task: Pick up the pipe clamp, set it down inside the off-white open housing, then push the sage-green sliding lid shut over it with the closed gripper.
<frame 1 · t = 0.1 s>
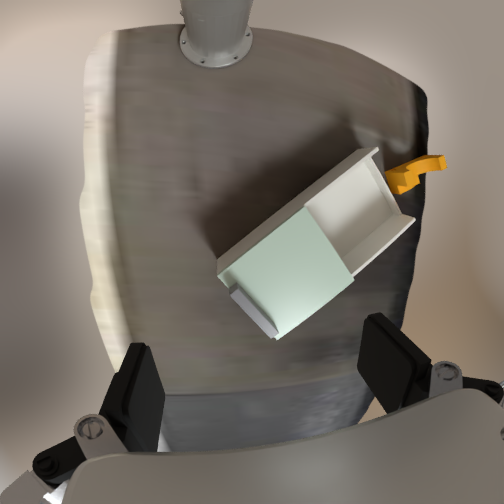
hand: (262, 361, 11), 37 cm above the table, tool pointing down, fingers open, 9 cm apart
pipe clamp: (407, 172, 48), on the table
housing: (348, 207, 49), on the table
lid: (292, 280, 41), point 9 cm above the table, slide at 16.2 cm
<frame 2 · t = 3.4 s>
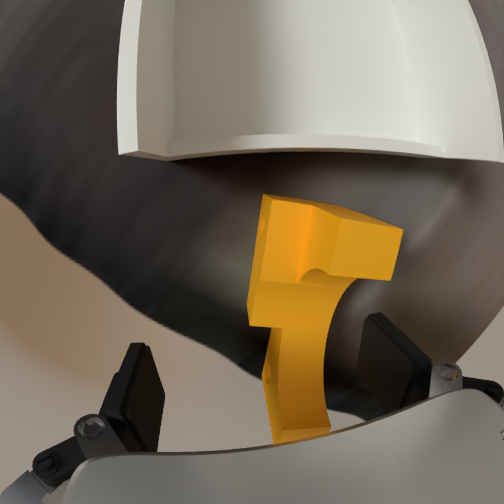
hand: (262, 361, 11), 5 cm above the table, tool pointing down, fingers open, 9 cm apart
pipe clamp: (283, 299, 17), on the table
housing: (298, 24, 12), on the table
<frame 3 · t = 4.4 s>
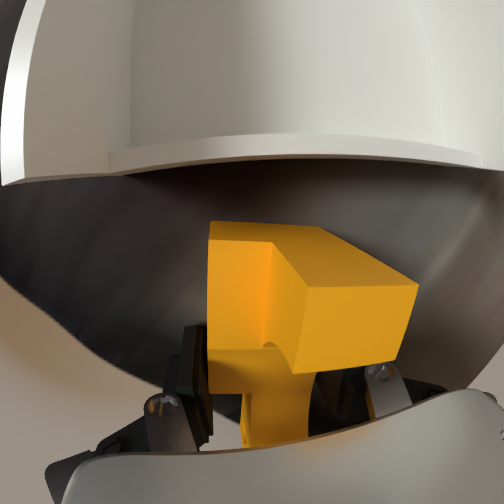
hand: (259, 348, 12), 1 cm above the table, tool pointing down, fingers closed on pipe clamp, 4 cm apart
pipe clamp: (254, 348, 13), on the table, touching gripper
when the fingers open (3 cm above the table, at t = 10.5 s): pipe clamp drops 2 cm, resting on housing.
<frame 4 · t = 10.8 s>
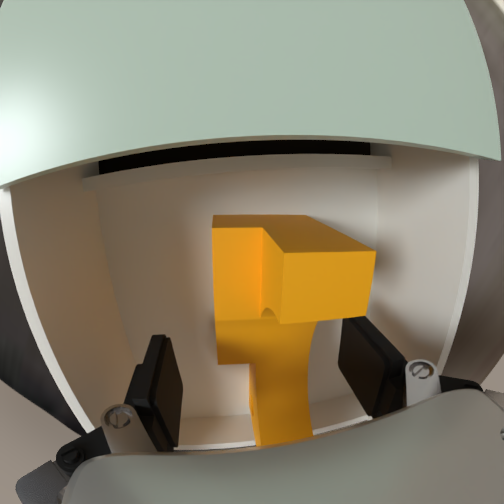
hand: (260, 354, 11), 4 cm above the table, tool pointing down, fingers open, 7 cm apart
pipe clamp: (257, 326, 15), resting on housing
housing: (250, 314, 15), on the table
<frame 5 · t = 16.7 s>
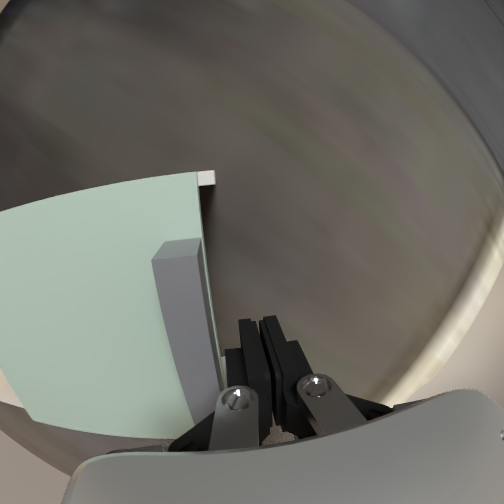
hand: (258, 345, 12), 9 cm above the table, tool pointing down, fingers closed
lid: (63, 356, 11), point 9 cm above the table, slide at 15.5 cm, touching gripper
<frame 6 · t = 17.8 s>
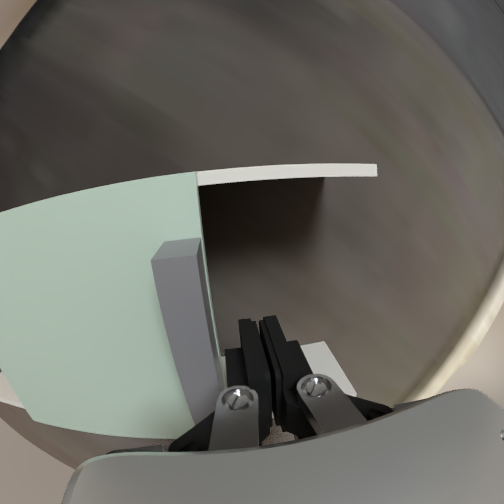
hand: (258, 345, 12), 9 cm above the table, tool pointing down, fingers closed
housing: (41, 294, 19), on the table
lid: (63, 356, 11), point 9 cm above the table, slide at 7.7 cm, touching gripper
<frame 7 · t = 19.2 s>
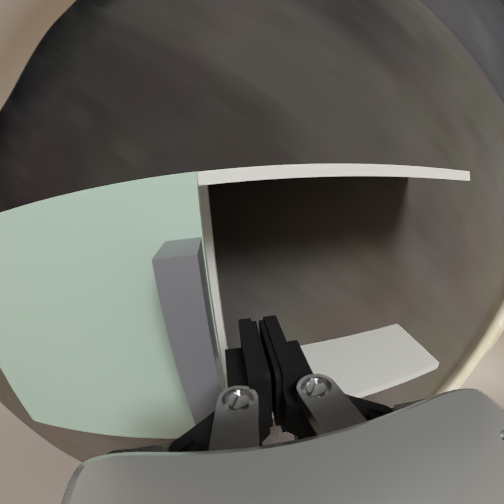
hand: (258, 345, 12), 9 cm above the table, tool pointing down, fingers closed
housing: (115, 288, 19), on the table
lid: (63, 356, 11), point 9 cm above the table, slide at -0.1 cm, touching gripper
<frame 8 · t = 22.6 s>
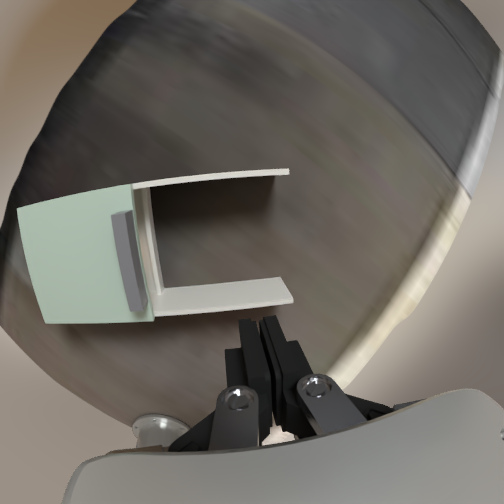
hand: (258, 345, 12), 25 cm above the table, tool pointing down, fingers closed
housing: (102, 245, 34), on the table
lid: (73, 266, 26), point 9 cm above the table, slide at 0.0 cm
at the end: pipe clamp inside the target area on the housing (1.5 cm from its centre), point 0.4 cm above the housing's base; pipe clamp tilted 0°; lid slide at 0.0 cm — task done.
